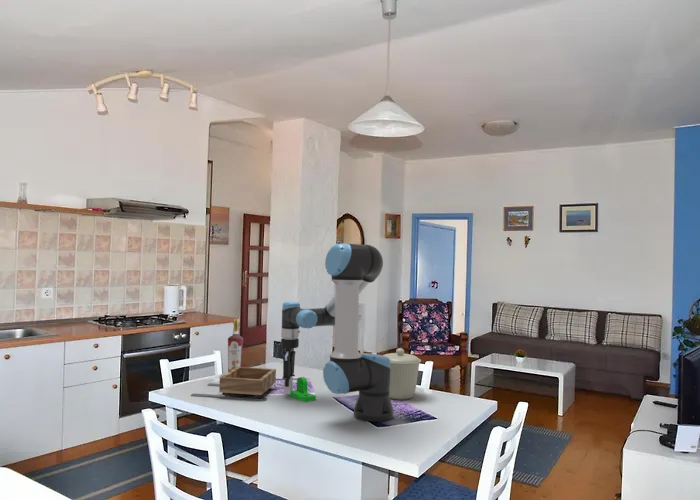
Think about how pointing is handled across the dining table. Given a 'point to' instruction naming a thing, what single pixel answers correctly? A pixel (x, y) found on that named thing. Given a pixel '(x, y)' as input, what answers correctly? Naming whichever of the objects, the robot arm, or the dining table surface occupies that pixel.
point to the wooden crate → (247, 381)
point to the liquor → (235, 347)
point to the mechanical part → (302, 391)
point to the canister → (403, 374)
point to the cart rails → (231, 396)
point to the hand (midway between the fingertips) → (288, 392)
